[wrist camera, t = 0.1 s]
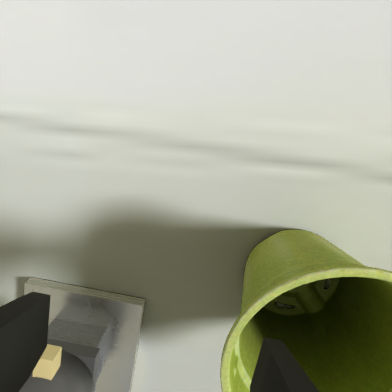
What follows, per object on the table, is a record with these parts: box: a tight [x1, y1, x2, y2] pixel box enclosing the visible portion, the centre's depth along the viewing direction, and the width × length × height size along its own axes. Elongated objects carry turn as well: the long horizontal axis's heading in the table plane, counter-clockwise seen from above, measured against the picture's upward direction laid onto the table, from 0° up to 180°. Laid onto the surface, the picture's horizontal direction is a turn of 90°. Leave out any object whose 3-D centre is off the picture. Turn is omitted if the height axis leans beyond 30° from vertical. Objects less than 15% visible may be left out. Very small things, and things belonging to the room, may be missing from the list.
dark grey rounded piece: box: [19, 338, 100, 392], centre depth 18 cm, size 6×4×4 cm
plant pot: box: [220, 230, 392, 392], centre depth 16 cm, size 9×9×9 cm
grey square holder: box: [24, 277, 146, 392], centre depth 21 cm, size 8×8×3 cm
